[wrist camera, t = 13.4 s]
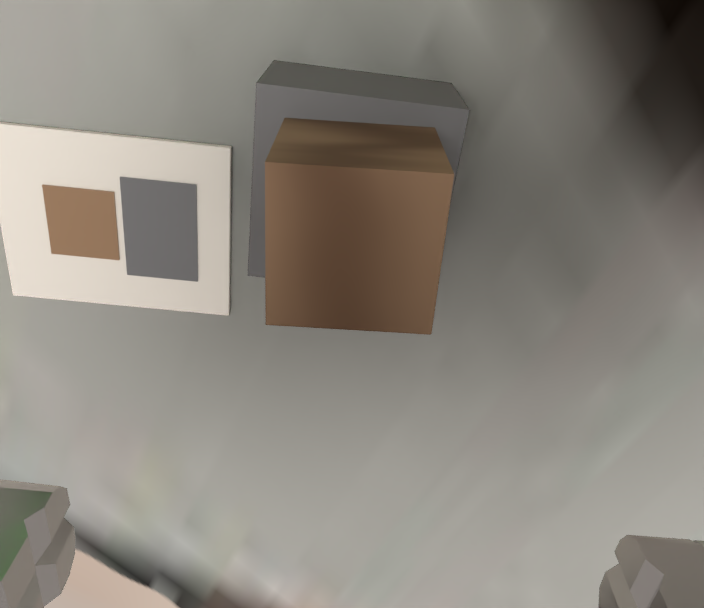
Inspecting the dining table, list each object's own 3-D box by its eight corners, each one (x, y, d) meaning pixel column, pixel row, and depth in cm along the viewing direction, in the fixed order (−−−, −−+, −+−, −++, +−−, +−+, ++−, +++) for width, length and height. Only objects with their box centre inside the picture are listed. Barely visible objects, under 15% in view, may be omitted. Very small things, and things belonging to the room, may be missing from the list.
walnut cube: (434, 127, 21) (454, 174, 17) (418, 263, 24) (431, 334, 19) (284, 117, 21) (264, 162, 17) (283, 254, 24) (265, 324, 19)
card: (231, 146, 26) (230, 148, 26) (229, 312, 30) (228, 316, 30) (-14, 120, 26) (-19, 122, 26) (16, 292, 30) (12, 296, 30)
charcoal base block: (450, 82, 25) (469, 109, 21) (420, 243, 29) (431, 295, 24) (274, 59, 25) (256, 82, 21) (265, 225, 28) (247, 275, 24)
